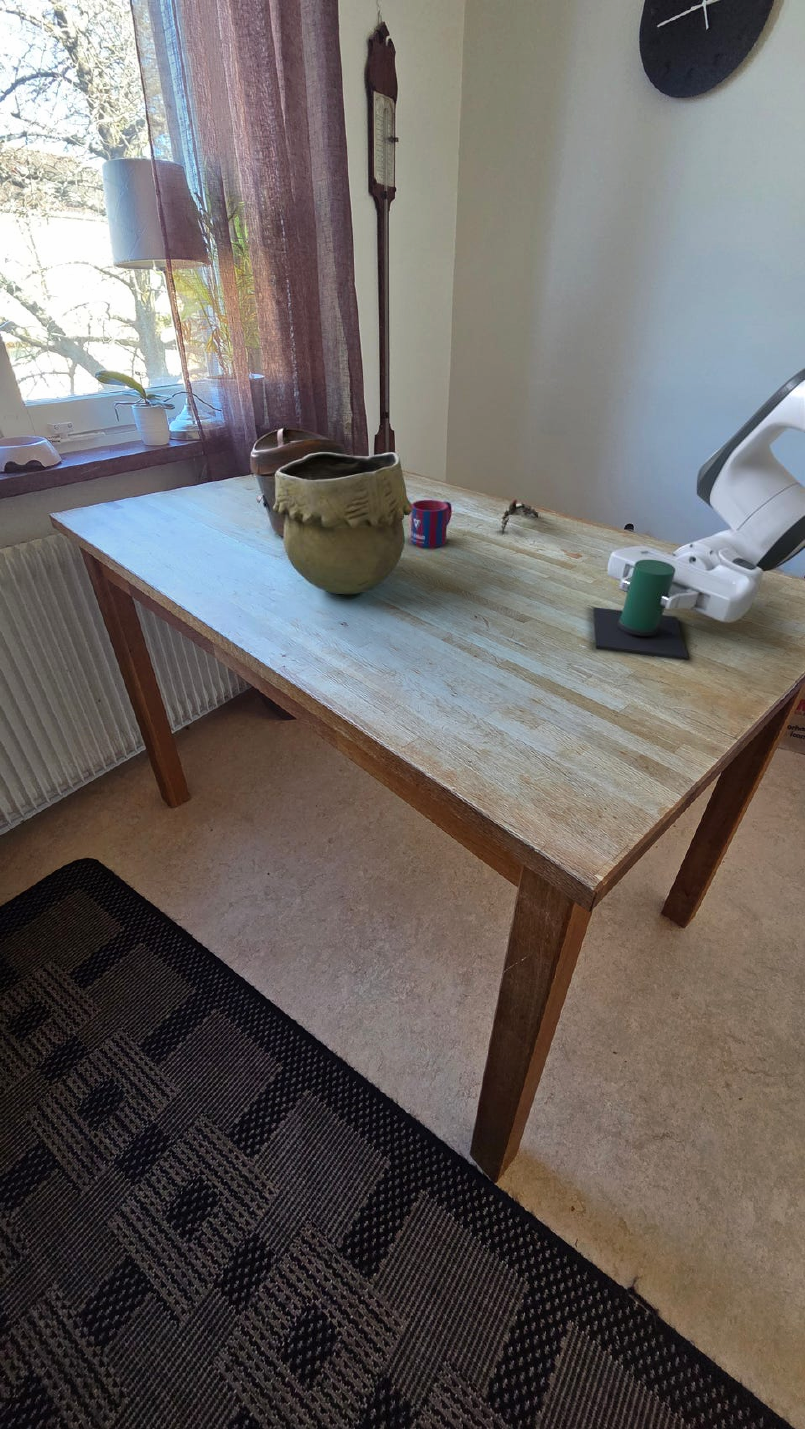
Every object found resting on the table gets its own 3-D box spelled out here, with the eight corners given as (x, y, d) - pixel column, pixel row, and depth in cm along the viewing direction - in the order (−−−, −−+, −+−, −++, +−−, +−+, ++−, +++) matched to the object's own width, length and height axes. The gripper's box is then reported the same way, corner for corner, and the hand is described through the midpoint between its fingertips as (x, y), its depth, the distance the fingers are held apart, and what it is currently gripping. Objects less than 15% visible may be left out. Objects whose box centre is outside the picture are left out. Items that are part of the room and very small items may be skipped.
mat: (675, 619, 90) (676, 616, 90) (687, 660, 81) (688, 656, 80) (592, 610, 92) (593, 607, 92) (595, 648, 83) (596, 645, 82)
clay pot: (251, 599, 93) (232, 463, 81) (325, 553, 108) (317, 433, 97) (370, 629, 86) (368, 485, 74) (430, 576, 101) (437, 450, 89)
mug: (403, 541, 114) (403, 504, 110) (439, 529, 120) (441, 494, 116) (428, 550, 110) (430, 513, 106) (464, 538, 116) (467, 502, 112)
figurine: (518, 531, 129) (497, 534, 116) (509, 515, 129) (487, 516, 116) (542, 515, 126) (523, 516, 113) (533, 499, 126) (513, 497, 113)
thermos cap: (656, 620, 88) (674, 561, 82) (661, 638, 83) (680, 577, 78) (616, 615, 88) (631, 556, 83) (619, 633, 84) (635, 572, 79)
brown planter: (289, 507, 129) (280, 415, 118) (370, 524, 121) (368, 427, 111) (233, 532, 116) (218, 432, 105) (320, 552, 109) (313, 446, 98)
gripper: (645, 530, 94) (588, 549, 87) (775, 574, 81) (721, 600, 74) (635, 568, 98) (579, 589, 91) (758, 616, 85) (704, 644, 78)
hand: (644, 594), depth 82 cm, fingers closed on thermos cap, 5 cm apart
